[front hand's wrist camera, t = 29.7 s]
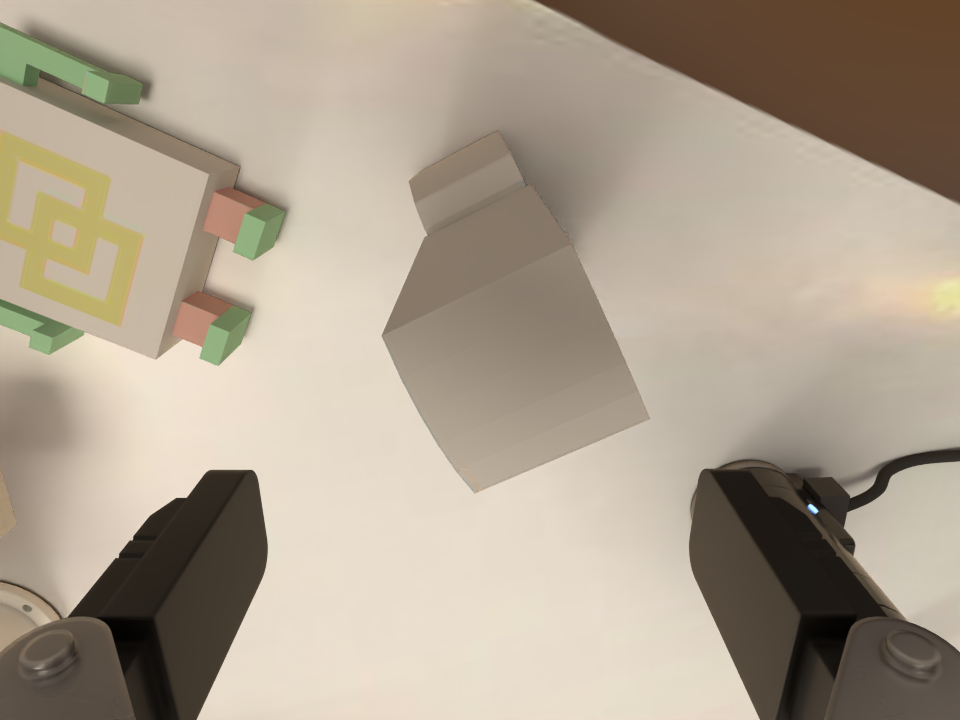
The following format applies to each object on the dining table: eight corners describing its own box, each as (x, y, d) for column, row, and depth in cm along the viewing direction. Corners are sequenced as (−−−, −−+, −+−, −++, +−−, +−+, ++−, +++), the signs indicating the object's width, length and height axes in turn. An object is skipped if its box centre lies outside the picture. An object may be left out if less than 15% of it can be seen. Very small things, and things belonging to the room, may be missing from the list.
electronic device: (569, 278, 49) (685, 496, 22) (484, 319, 51) (489, 575, 23) (500, 128, 45) (534, 156, 17) (409, 176, 47) (305, 274, 19)
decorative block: (-171, 277, 43) (-147, -33, 36) (-91, 256, 49) (-58, -13, 42) (198, 417, 47) (282, 162, 40) (230, 383, 53) (308, 155, 46)
